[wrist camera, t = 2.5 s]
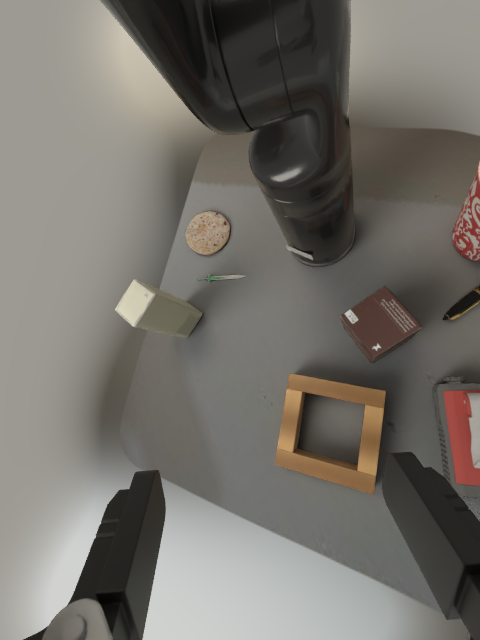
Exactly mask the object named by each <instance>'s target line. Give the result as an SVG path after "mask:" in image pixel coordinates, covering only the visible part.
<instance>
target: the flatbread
mask: <svg viewBox="0 0 480 640" xmlns="http://www.w3.org/2000/svg"><path fill="white" fill-rule="evenodd" d="M229 233H230V224H229V222H228V221H227V219H226V218H225V217H223V216H222V215H221V214H219V213H217V212H212V211H207V212H203V213H198V214H196V215H195V216H194V218H193V220H192V221H191V222H190V224H189V226H188V228H187V229H186V239H187V243H188V245H189V246H190V247H191V248H192V249H193V250H194V251H195V252H197V253H199V254H203V255H210V254H213V253H215V252H217V251H218V250H220V249H221V248H222V247H223V246H224V245H225V243H226V242H227V240H228V238H229Z"/></svg>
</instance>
